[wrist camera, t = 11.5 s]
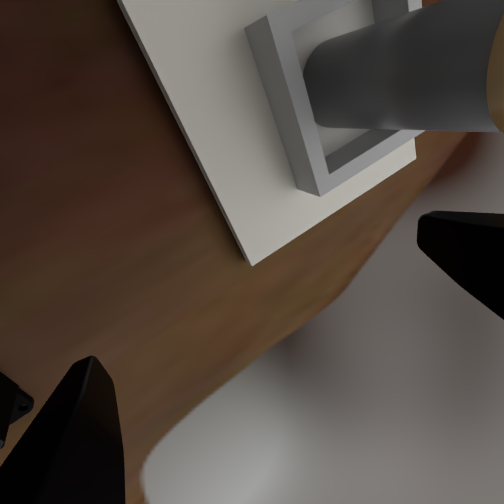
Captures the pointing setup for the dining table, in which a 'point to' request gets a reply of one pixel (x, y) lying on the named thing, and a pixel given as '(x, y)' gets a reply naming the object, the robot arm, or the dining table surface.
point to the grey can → (414, 71)
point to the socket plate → (265, 108)
